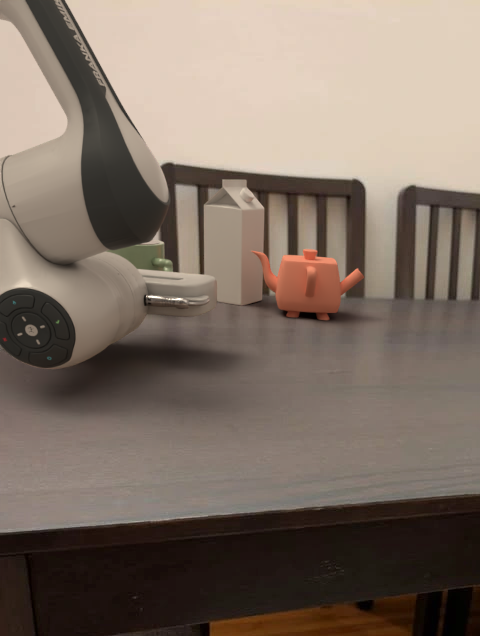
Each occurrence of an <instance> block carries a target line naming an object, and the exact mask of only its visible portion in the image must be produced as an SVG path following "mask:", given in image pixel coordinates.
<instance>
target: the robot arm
mask: <svg viewBox="0 0 480 636" xmlns="http://www.w3.org/2000/svg"><path fill="white" fill-rule="evenodd" d="M76 19H77V18H76V17H75V16H74V13H73V12H72V10H71V8H70V7H69V4H67V2H66V0H0V20H1V21H7V22H9V23H11V24H12V25H13V26H14V28H15V29H16V30H17V31H18V33H19V34H20V36H21V38H22V39H23V41H24V43H25V45H26V46H27V48H28V50H29V51H30V54H31V55H32V57H33V59H34V61H35V62H36V64H37V66H38V68H39V70H40V71H41V73H42V75H43V76H44V79H45V80H46V82H47V84H48V86H49V87H50V89H51V91H52V92H53V94H54V96H55V98H56V100H57V102H58V103H59V105H60V107H61V109H62V111H63V113H64V115H65V116H66V121H67V125H66V128H65V131H64V132H63V133H62V134H61V135H60V136H58V137H55V138H53V139H51V140H49V141H46V142H43V143H40V144H38V145H35V146H32V147H30V148H27V149H25V150H22V151H20V152H17V153H14V154H8V155H5V156H3V157H0V348H1V349H2V350H3V351H4V352H5V353H7V355H9V356H10V357H12V358H13V359H15V360H16V361H18V362H20V363H22V364H25V365H28V366H30V367H32V368H33V367H34V368H38V369H43V370H58V369H59V370H60V369H65V368H70V367H73V366H76V365H78V364H79V365H80V364H81V363H83V362H86V361H87V360H89V359H91V358H93V357H95V356H97V355H98V354H100V353H102V352H103V351H104V350H106V349H107V348H108V347H109V346H110V345H113V344H115V343H117V342H118V341H120V340H122V339H123V338H125V337H126V336H128V335H130V334H131V333H132V332H134V331H135V330H136V329H138V328H139V327H140V326H141V325H142V323H144V320H145V318H146V316H147V315H157V316H170V317H184V318H190V317H198V316H201V315H204V314H207V313H208V312H212V311H213V310H214V309H216V307H217V304H218V302H217V281H216V279H215V278H214V277H212V276H209V275H204V274H199V273H188V272H178V271H177V272H176V271H173V272H167V271H155V270H144V269H137V268H136V267H135V266H134V265H133V264H132V263H130V262H129V261H128V260H126V259H125V258H123V257H121V256H119V255H117V254H114V253H111V252H106V251H108V250H118V249H122V248H126V247H130V246H134V245H139V244H143V243H147V242H150V241H151V240H152V239H153V240H154V238H155V236H156V235H157V234H158V232H159V230H160V229H161V227H162V226H163V223H164V221H165V219H166V216H167V213H168V210H169V208H170V204H171V194H170V189H169V187H168V182H167V180H166V177H165V173H164V171H163V169H162V167H161V166H160V163H159V161H158V160H157V158H156V156H155V155H154V153H153V152H152V150H151V149H150V147H149V146H148V144H147V143H146V141H145V139H144V137H142V135H141V133H140V132H139V130H138V129H137V127H136V126H135V123H134V122H133V121H132V119H131V117H130V115H129V114H128V112H127V111H126V109H125V107H124V106H123V104H122V102H121V99H120V98H119V97H118V95H117V93H116V91H115V89H114V87H113V86H112V83H111V82H110V80H109V78H108V77H107V74H106V73H105V71H104V69H103V67H102V65H101V63H100V61H99V59H98V58H97V56H96V54H95V53H94V50H93V48H92V46H91V45H90V43H89V41H88V39H87V37H86V35H85V34H84V32H83V30H82V29H81V26H80V24H79V22H78V21H77V20H76Z"/></svg>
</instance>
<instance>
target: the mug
mask: <svg viewBox="0 0 480 636" xmlns="http://www.w3.org/2000/svg"><path fill="white" fill-rule="evenodd" d="M165 251H166V250H165V242H164V241H162V240H159V239H154V238H153V239H152V240H151V241H150V242H147V243H143V244H139V245H134V246H130V247H126V248H122V249H118V250H108V251H106V252H111V253H114V254H117V255H119V256H121V257H123V258H125V259H126V260H128V261H129V262H130V263H132V264H133V265H134V266H135V267H136V268H137V269H144V270H155V271H167V272H174V267H173V265H174V264H173V261H172V260H170V259H167V258H166V255H165Z"/></svg>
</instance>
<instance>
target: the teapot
mask: <svg viewBox="0 0 480 636" xmlns="http://www.w3.org/2000/svg"><path fill="white" fill-rule="evenodd" d="M252 252H253V253H254V254H255V255H257V256H258V258H259V259H260V261H261V264H262V268H263V280H264V282H265V285H266V286H267V288H268V289H269V290H270V291H272V292H273V293H274V296H275V300H276V305H277V308H278V309H279V310H281V311H285V312H287V313H286V314H285V316H286V317H287V318H299V316H300V313H315V315H316V319H317V320H319V321H329V320H330V317H329V314H336V313H338V311H339V309H340V306H341V303H342V302H341V301H342V296H343V295H344V294H345V293H347V292H348V291H349V290H350V289H352V288H353V287H354V286H356V285H357V284H358V283H359V282H361V281H362V280H363V279H365V276H364V274H363V273H362V271H360V269H359V267H357V268H356V269H354V270H353V271H352V272H351V273H350V274H348V275H347V276H346V277H345V278H344V279H342V280H341V277H340V271H339V266H338V265H339V264H338V262H337V260H336V259H335V258H334V257H327V256H326V257H324V256H318V250H317V249H313V248H304V249H302V254H303V255H298V254H283V255H282V258H281V260H280V264H279V268H278V273H277V275H275V274H274V273H273V271H272V269H271V264H270V260H269V258H268V255H267V254H265V253H264V252H263V253H261V252H257V251H252Z"/></svg>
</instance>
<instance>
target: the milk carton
mask: <svg viewBox="0 0 480 636" xmlns="http://www.w3.org/2000/svg"><path fill="white" fill-rule="evenodd" d="M221 180H222V181H221V183H222V185H221V187H220V189H219V190H218V191H217V192H216V193H215V194H213V195H212V196H211V197H210V198H209V199H208V200H207V201H206V202H205V203H204V204H203V255H204V256H203V258H204V259H203V275H209V276H212V277H214V278H215V279H216V281H217V303H222V304H229V305H234V306H245V305H249V304H252V303H257V302H261V301H263V283H264V281H263V280H264V275H263V268H262V264H261V261H260V259H259V258H258V256H257V255H255V254H254V253H253V252H252V251H257V252H261V253H264V243H265V242H264V241H265V207H264V206H263V205H262V203H261V202H260V201H259V200H258V198H257V197H256V196H255V195H254V193H253V192H252V191H251V190H250V189H249V188H248V186H247V183H248V180H247V179H221Z"/></svg>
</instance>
